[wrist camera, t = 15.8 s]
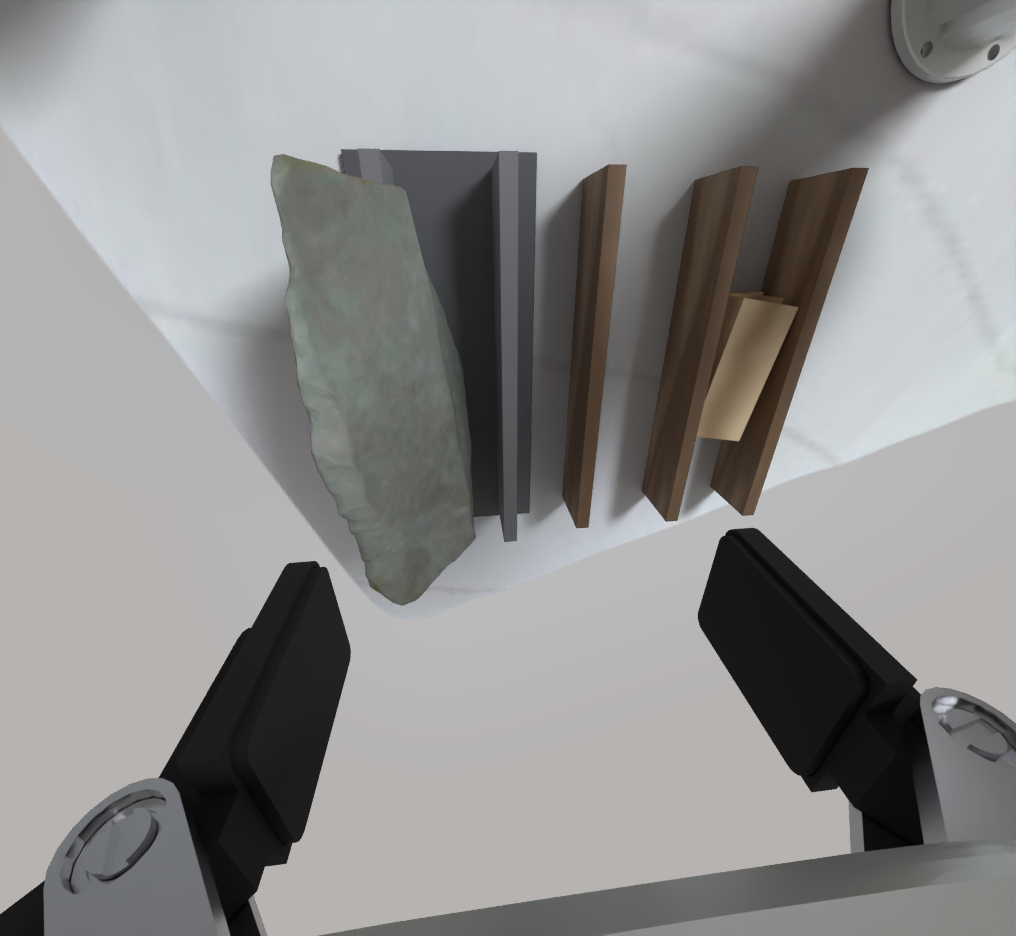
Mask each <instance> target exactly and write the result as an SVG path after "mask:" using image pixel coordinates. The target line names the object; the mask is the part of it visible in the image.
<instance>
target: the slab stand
mask: <svg viewBox="0 0 1016 936" xmlns="http://www.w3.org/2000/svg"><path fill="white" fill-rule="evenodd" d="M341 152H342V159H343V165H344V171H345V174H346V175H350V176H354V177H358V178H362V179H366V180H369V181H374V182H378V183H383V184H389V185H394V186H399V187H401V188H402V189H404V190H405V191H406V194H407V198H408V202H409V206H410V210H411V214H412V218H413V223H414V227H415V231H416V235H417V239H418V243H419V247H420V251H421V255H422V258H423V262H424V266H425V268H426V270H427V272H428V274H429V277H430V279H431V282H432V284H433V287H434V289H435V290H436V292H437V295H438V298H439V300H440V303H441V306H442V308H443V310H444V313H445V316H446V320H447V325H448V327H449V329H450V332H451V335H452V338H453V342H454V345H455V346H456V349H457V351H458V353H459V357H460V361H461V364H462V367H463V371H464V384H465V392H466V406H467V411H468V423H469V432H470V438H471V478H472V496H473V517H478V516H492V515H500V519H501V525H502V531H503V537H504V542H509V541H517V514H520V513H529V501H530V454H531V406H532V359H533V312H534V265H535V218H536V171H537V153H529V152H518V151H499V152H468V151H407V150H379V149H358V150H346V149H341Z"/></svg>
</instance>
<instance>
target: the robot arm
mask: <svg viewBox="0 0 1016 936" xmlns="http://www.w3.org/2000/svg"><path fill="white" fill-rule="evenodd" d="M891 25H892V35H893V39H894V43H895V47H896V51H897V53H898V55H899V57H900V59H901V61H902V63H903V64H904V66H905V67H906V68H907V69H908V70H909V71H910V72H911V73H912V74H913V75H914V76H916V77H918V78H920V79H922V80H923V81H927V82H932V83H947V82H953V81H956V80H960V79H963V78H966V77H969V76H972V75H974V74H976V73H979V72H981V71H983V70H985V69H987V68H989V67H990V66H992V65H993V64H995V63H996V62H998V61H999V60H1001V59H1002V58H1004V57H1005V56H1006V55H1007V54H1008V53H1009V52H1011V51H1012V50H1013V49H1014V48H1015V47H1016V0H892V3H891ZM698 621H699V625H700V627H701V629H702V631H703V632H704V634H705V635H706V637H707V638H708V640H709V641H710V643H711V645H712V646H713V648H714V649H715V651H716V653H717V654H718V656H719V657H720V659H721V661H722V662H723V664H724V665H725V667H726V668H727V670H728V672H729V673H730V675H731V676H732V678H733V680H734V681H735V683H736V684H737V686H738V687H739V689H740V691H741V692H742V694H743V695H744V697H745V698H746V700H747V702H748V703H749V705H750V706H751V708H752V710H753V711H754V713H755V714H756V716H757V717H758V719H759V720H760V722H761V724H762V725H763V727H764V728H765V730H766V731H767V733H768V735H769V736H770V738H771V739H772V741H773V743H774V744H775V746H776V747H777V749H778V751H779V752H780V754H781V755H782V757H783V758H784V760H785V762H786V763H787V765H788V766H789V768H790V769H791V770H792V771H793V772H794V773H796V774H797V775H800V776H801V777H802V778H803V780H804V782H805V783H806V784H807V786H808V788H809V789H810V791H811V792H817V791H825V790H832V789H837V788H838V786H839V787H840V788H841V790H842V791H843V793H844V794H845V795H846V797H847V798H848V800H849V819H850V841H851V854H845V855H838V856H831V857H824V858H817V859H810V860H804V861H796V862H789V863H782V864H775V865H769V866H762V867H755V868H748V869H741V870H734V871H727V872H721V873H714V874H708V875H701V876H694V877H687V878H680V879H674V880H668V881H661V882H654V883H647V884H641V885H634V886H627V887H621V888H614V889H608V890H601V891H594V892H587V893H581V894H574V895H568V896H561V897H554V898H548V899H541V900H535V901H529V902H522V903H516V904H509V905H503V906H496V907H490V908H485V909H477V910H471V911H465V912H458V913H452V914H445V915H439V916H433V917H426V918H420V919H413V920H407V921H400V922H394V923H388V924H382V925H377V926H371V927H365V928H360V929H354V930H348V931H343V932H338V933H332V934H327V935H320V936H1016V723H1014V722H1013V721H1012V720H1011V719H1009V718H1008V717H1007V716H1006V715H1004V714H1003V713H1001V712H1000V711H998V710H997V709H995V708H994V707H992V706H990V705H989V704H987V703H985V702H983V701H981V700H979V699H977V698H975V697H973V696H971V695H968V694H966V693H963V692H959V691H956V690H953V689H948V688H938V687H936V688H931V689H927V690H925V691H924V692H923V693H922V694H920V693H919V692H918V691H917V690H916V689H915V688H914V687H913V685H914V684H915V682H916V681H917V679H916V678H915V677H914V676H913V675H912V674H911V673H910V672H908V671H907V670H906V669H905V668H904V667H903V666H902V665H901V664H900V663H899V662H898V661H897V660H895V658H894V657H893V656H891V654H889V653H888V652H887V651H886V650H885V649H884V648H883V647H882V646H881V645H880V644H879V643H878V642H876V640H875V639H874V638H873V637H871V636H870V635H869V634H868V633H867V632H866V631H865V630H864V629H863V628H862V627H861V626H860V625H859V624H858V623H856V622H855V621H854V620H853V619H852V618H851V617H850V616H849V615H848V614H847V613H846V612H845V611H844V610H843V609H842V608H841V607H840V606H839V605H838V604H836V603H835V602H834V601H833V600H832V599H831V598H830V597H829V596H828V595H827V594H826V593H825V592H824V591H823V590H822V589H821V588H820V587H818V586H817V585H816V584H815V583H814V582H813V581H812V580H811V579H810V578H809V577H808V576H807V575H806V574H805V573H804V572H803V571H802V570H801V569H799V568H798V567H797V566H796V565H795V564H794V563H793V562H792V561H791V560H790V559H789V558H788V557H787V556H786V555H785V554H784V553H783V552H782V551H780V550H779V549H778V548H777V547H776V546H775V545H774V544H773V543H772V542H771V541H770V540H769V539H767V537H765V535H764V534H762V533H761V532H760V531H759V530H758V529H755V528H744V529H732V530H729V531H728V532H727V533H726V535H725V536H723V537H722V538H721V539H720V541H719V544H718V547H717V551H716V554H715V558H714V561H713V564H712V568H711V571H710V574H709V578H708V581H707V585H706V588H705V591H704V595H703V598H702V601H701V605H700V608H699V611H698ZM350 653H351V651H350V644H349V641H348V637H347V634H346V631H345V627H344V624H343V620H342V617H341V613H340V610H339V607H338V603H337V600H336V596H335V593H334V590H333V586H332V583H331V579H330V576H329V572H328V570H327V568H326V567H320V566H319V564H318V563H317V562H316V561H310V562H298V563H289V564H287V565H286V566H285V568H284V570H283V571H282V573H281V575H280V577H279V579H278V580H277V582H276V584H275V586H274V588H273V590H272V591H271V593H270V595H269V597H268V599H267V601H266V602H265V604H264V606H263V608H262V610H261V611H260V613H259V615H258V617H257V619H256V620H255V622H254V624H253V626H252V628H248V629H246V630H245V631H244V632H243V633H242V634H241V635H240V637H239V638H238V639H237V641H236V643H235V645H234V646H233V648H232V650H231V652H230V654H229V655H228V657H227V659H226V661H225V662H224V664H223V666H222V668H221V669H220V671H219V673H218V675H217V676H216V678H215V680H214V682H213V683H212V685H211V687H210V689H209V690H208V692H207V694H206V696H205V697H204V699H203V701H202V703H201V704H200V706H199V708H198V710H197V712H196V713H195V715H194V717H193V718H192V720H191V722H190V724H189V726H188V727H187V729H186V731H185V733H184V734H183V736H182V738H181V740H180V741H179V743H178V745H177V747H176V748H175V750H174V752H173V754H172V756H171V757H170V759H169V761H168V762H167V764H166V766H165V768H164V769H163V771H162V773H161V775H160V776H159V778H152V779H145V780H142V781H139V782H136V783H132V784H130V785H128V786H126V787H124V788H122V789H120V790H118V791H117V792H115V793H113V794H111V795H110V796H108V797H107V798H106V799H104V800H103V801H102V802H100V803H99V804H98V805H97V806H95V807H94V808H93V809H91V810H90V811H89V812H88V813H87V814H86V815H85V816H84V817H83V818H82V819H81V820H80V821H79V822H78V823H77V824H76V825H75V826H74V827H73V828H72V830H71V831H70V832H69V834H68V835H67V837H66V838H65V839H64V841H63V842H62V843H61V845H60V846H59V847H58V849H57V851H56V853H55V855H54V857H53V859H52V861H51V863H50V865H49V867H48V869H47V873H46V878H45V881H43V882H42V883H41V884H40V885H38V886H37V887H36V888H34V889H33V890H32V891H30V892H29V893H28V894H26V895H25V896H24V897H23V898H21V899H20V900H19V901H17V902H16V903H15V904H13V905H12V906H11V907H9V908H8V909H7V910H6V911H4V912H3V913H1V914H0V936H267V934H266V931H265V928H264V925H263V922H262V919H261V916H260V913H259V910H258V907H257V905H256V902H255V899H254V896H253V895H254V894H255V892H257V889H258V886H259V883H260V880H261V877H262V874H263V871H264V867H265V866H272V865H280V864H286V863H287V860H288V856H289V853H290V849H291V846H292V843H294V842H298V841H299V840H300V839H301V837H302V835H303V833H304V830H305V826H306V823H307V820H308V815H309V812H310V808H311V805H312V801H313V797H314V793H315V790H316V786H317V782H318V779H319V775H320V771H321V767H322V763H323V759H324V756H325V752H326V748H327V745H328V741H329V737H330V733H331V730H332V726H333V722H334V718H335V715H336V711H337V708H338V704H339V700H340V696H341V693H342V689H343V685H344V681H345V678H346V674H347V670H348V666H349V662H350Z"/></svg>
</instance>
